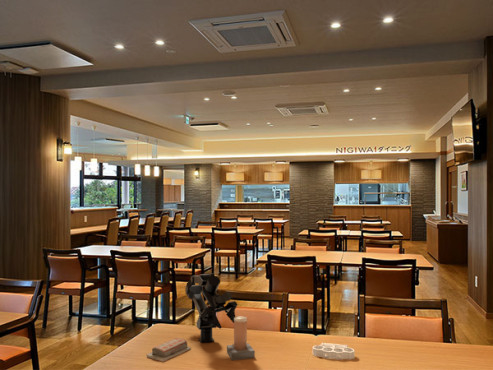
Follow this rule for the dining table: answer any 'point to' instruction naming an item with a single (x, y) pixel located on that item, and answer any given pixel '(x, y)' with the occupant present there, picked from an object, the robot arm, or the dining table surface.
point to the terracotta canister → (240, 333)
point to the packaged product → (169, 349)
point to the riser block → (240, 352)
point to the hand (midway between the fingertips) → (228, 325)
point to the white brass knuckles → (333, 351)
